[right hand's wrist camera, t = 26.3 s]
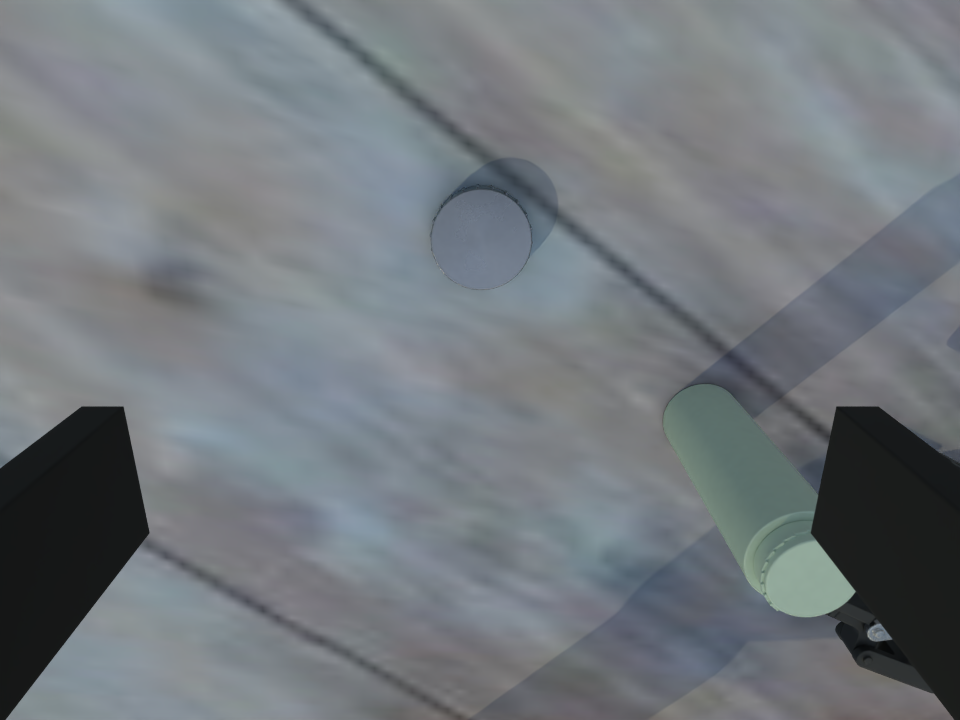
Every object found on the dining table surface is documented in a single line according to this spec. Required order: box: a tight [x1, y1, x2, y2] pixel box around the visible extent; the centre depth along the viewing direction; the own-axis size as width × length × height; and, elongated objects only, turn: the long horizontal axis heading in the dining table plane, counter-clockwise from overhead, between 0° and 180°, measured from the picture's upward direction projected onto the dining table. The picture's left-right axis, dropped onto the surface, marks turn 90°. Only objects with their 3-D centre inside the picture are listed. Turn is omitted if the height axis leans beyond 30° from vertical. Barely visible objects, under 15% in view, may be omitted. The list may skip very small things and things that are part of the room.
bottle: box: [663, 384, 856, 617], centre depth 34 cm, size 5×5×15 cm
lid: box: [430, 184, 533, 290], centre depth 36 cm, size 5×6×2 cm
